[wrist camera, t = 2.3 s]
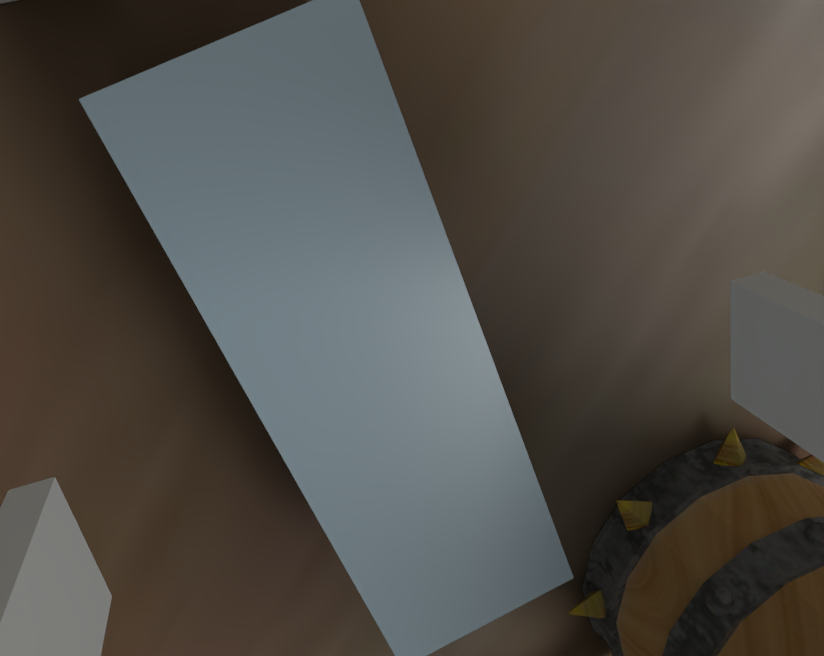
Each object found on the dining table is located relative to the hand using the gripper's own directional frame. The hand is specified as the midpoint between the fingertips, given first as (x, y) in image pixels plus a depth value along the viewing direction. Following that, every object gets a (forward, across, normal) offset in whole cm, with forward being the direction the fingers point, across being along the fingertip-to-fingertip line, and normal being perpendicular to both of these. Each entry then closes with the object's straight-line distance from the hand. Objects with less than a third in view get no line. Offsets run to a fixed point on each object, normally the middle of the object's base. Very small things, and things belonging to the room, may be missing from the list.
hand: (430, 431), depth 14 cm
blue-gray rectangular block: (+8, -1, 0) cm, 8 cm away
